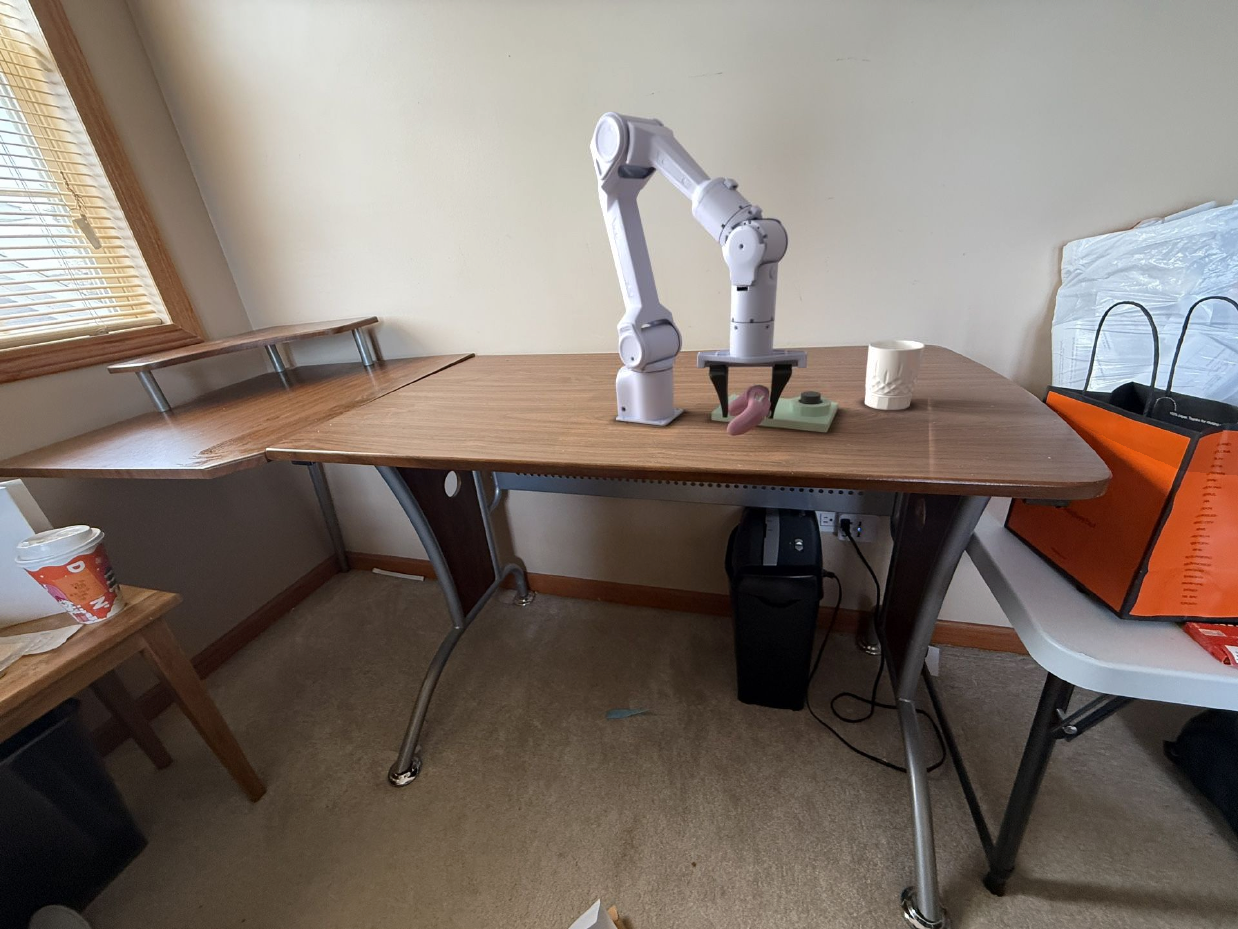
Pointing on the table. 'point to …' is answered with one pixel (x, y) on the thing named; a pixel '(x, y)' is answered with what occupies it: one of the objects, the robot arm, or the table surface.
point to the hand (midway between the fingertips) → (748, 416)
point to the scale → (793, 414)
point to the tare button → (810, 398)
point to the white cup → (892, 373)
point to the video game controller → (749, 410)
